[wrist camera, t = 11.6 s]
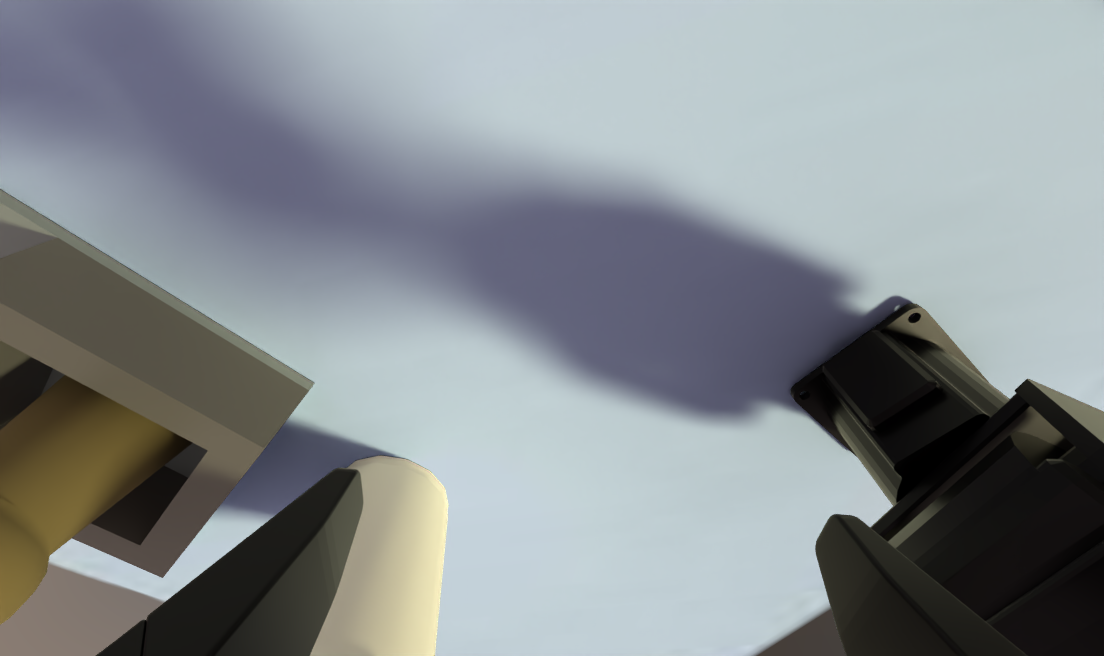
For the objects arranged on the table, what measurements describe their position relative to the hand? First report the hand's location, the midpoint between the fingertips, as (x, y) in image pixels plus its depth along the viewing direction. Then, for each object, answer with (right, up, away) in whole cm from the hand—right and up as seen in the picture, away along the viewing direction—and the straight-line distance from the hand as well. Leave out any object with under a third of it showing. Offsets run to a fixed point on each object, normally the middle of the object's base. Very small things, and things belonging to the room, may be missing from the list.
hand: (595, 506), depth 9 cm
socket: (-24, 0, +15) cm, 28 cm away
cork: (-20, 0, +15) cm, 25 cm away
